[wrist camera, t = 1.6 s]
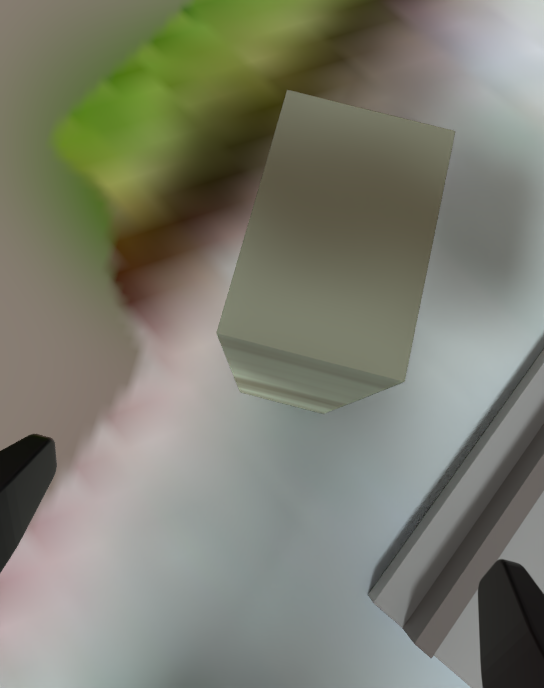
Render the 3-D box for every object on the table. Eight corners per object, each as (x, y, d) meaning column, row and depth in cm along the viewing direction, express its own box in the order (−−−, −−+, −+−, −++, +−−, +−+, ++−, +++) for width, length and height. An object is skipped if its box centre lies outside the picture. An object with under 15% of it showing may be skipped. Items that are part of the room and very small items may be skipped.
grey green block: (323, 414, 22) (404, 381, 10) (240, 392, 22) (216, 332, 10) (351, 294, 23) (455, 131, 11) (272, 274, 23) (287, 89, 11)
